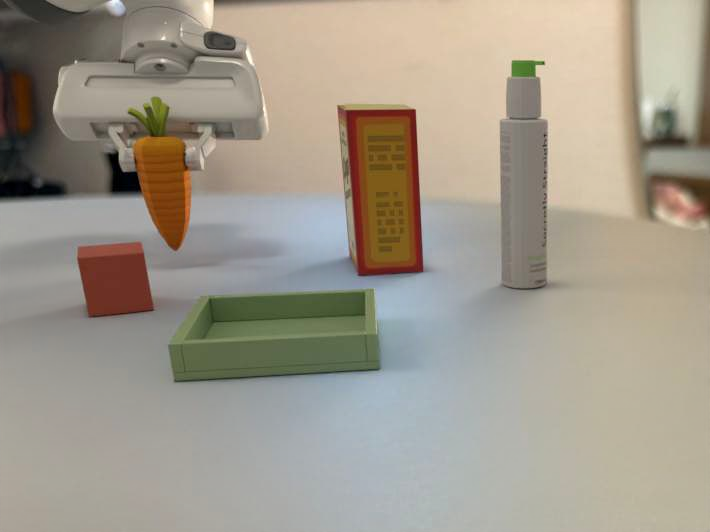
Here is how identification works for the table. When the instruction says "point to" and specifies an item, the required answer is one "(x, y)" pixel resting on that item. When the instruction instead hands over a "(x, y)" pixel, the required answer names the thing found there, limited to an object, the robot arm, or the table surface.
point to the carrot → (163, 174)
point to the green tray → (276, 335)
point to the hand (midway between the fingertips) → (162, 167)
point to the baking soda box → (381, 187)
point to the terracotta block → (114, 278)
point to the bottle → (524, 180)
